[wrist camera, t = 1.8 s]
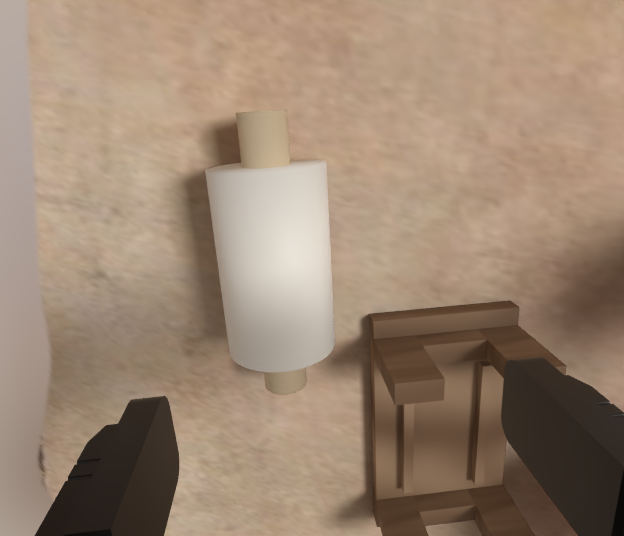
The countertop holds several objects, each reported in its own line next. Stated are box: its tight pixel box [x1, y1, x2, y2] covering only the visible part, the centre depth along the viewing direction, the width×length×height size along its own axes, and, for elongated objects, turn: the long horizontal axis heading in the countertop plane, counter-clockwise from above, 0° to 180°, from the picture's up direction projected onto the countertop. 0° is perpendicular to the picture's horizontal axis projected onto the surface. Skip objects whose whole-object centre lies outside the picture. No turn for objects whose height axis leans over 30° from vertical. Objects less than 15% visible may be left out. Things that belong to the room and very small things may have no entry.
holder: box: [370, 301, 566, 536], centre depth 26 cm, size 15×8×6 cm, turn 4°
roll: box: [205, 110, 335, 395], centre depth 22 cm, size 14×5×5 cm
